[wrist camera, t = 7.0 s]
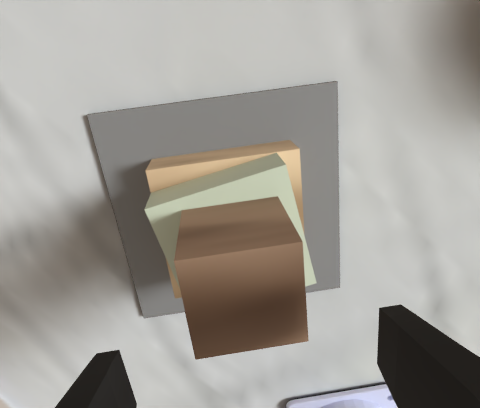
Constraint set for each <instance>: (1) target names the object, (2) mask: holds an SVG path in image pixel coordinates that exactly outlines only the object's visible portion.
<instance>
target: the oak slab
mask: <svg viewBox="0 0 480 408" xmlns="http://www.w3.org/2000/svg"><path fill="white" fill-rule="evenodd" d="M274 153H277V154H278V155H279V156H280V158H281V159H282V160H283V161H284V163H285V164H286V166H287V170H288V174H289V178H290V182H291V186H292V190H293V193H294V197H295V201H296V205H297V209H298V213H299V217H300V220H301V224H302V228H303V232H304V218H303V200H302V182H301V163H300V149H299V148H298V147H297V146H296V145H295V144H294V143H293V142H292V141H291V140H285V141H278V142H271V143H264V144H256V145H249V146H242V147H235V148H228V149H221V150H213V151H206V152H199V153H192V154H185V155H178V156H170V157H163V158H156V159H151V161H150V163H149V165H148V167H147V169H146V170H145V171H146V175H147V179H148V184H149V188H150V192H151V193H152V192H155V191H158V190H161V189H164V188H167V187H171V186H174V185H177V184H180V183H183V182H186V181H189V180H192V179H196V178H199V177H202V176H205V175H208V174H211V173H214V172H217V171H221V170H224V169H227V168H230V167H233V166H236V165H239V164H243V163H246V162H249V161H252V160H255V159H258V158H261V157H264V156H268V155H271V154H274ZM166 262H167V266H168V270H169V275H170V279H171V283H172V287H173V292H174V296H175V298H182V296H181V291H180V288H179V286H178V284H177V281H176V279H175V277H174V275H173V272H172V270H171V268H170V266H169V264H168V261H167V259H166Z"/></svg>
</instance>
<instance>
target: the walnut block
mask: <svg viewBox="0 0 480 408" xmlns="http://www.w3.org/2000/svg"><path fill="white" fill-rule="evenodd" d="M174 264H175V268H176V273H177V277H178V282H179V287H180V291H181V296H182V300H183V305H184V309H185V314H186V318H187V323H188V327H189V332H190V337H191V341H192V346H193V350H194V355H195V359H202V358H208V357H214V356H220V355H226V354H232V353H238V352H245V351H251V350H257V349H263V348H269V347H275V346H282V345H288V344H294V343H300V342H306V341H308V327H307V309H306V291H305V274H304V256H303V241H302V240H301V238H300V236H299V234H298V232H297V230H296V229H295V227H294V225H293V223H292V221H291V219H290V218H289V216H288V214H287V212H286V210H285V208H284V207H283V205H282V203H281V201H280V199H279V197H278V196H276V197H269V198H263V199H256V200H249V201H242V202H235V203H228V204H221V205H214V206H207V207H200V208H193V209H187V210H182V212H181V218H180V225H179V231H178V238H177V244H176V251H175V257H174Z"/></svg>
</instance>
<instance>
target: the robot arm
mask: <svg viewBox="0 0 480 408" xmlns="http://www.w3.org/2000/svg"><path fill="white" fill-rule="evenodd" d="M377 364H378V366H379V369H380V371H381V373H382V375H383V378H384V380H385V382H386V384H383V385H378V386H372V387H366V388H360V389H354V390H348V391H342V392H336V393H331V394H325V395H319V396H313V397H307V398H301V399H295V400H291V401H289V402H288V403H287V404H286V408H396V406H397V407H398V408H480V357H478V356H477V355H475V354H474V353H472V352H471V351H469V350H468V349H466V348H464V347H463V346H461V345H460V344H458V343H457V342H455V341H454V340H452V339H451V338H449V337H448V336H446V335H445V334H444V333H442V332H441V331H439V330H438V329H436V328H435V327H433V326H432V325H430V324H429V323H427V322H426V321H424V320H423V319H422V318H420V317H419V316H417V315H416V314H414V313H413V312H411V311H410V310H408V309H407V308H405V307H404V306H402V305H395V306H389V307H383V308H379V332H378V357H377ZM136 405H137V403H136V400H135V397H134V394H133V391H132V388H131V385H130V382H129V379H128V376H127V373H126V370H125V366H124V363H123V360H122V357H121V354H120V351H119V350H116V351H109V352H103V353H97V354H96V355H95V356H94V357H93V359H92V360H91V361H90V362H89V364H88V365H87V366H86V368H85V369H84V370H83V372H82V373H81V374H80V375H79V377H78V378H77V379H76V381H75V382H74V383H73V385H72V386H71V387H70V389H69V390H68V391H67V393H66V394H65V395H64V397H63V398H62V399H61V400H60V402H59V403H58V404H57V406H56V407H55V408H136Z"/></svg>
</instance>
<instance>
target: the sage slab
mask: <svg viewBox="0 0 480 408" xmlns="http://www.w3.org/2000/svg"><path fill="white" fill-rule="evenodd" d="M276 196H278V197H279V199H280V201H281V203H282V205H283V207H284V208H285V210H286V212H287V214H288V216H289V218H290V219H291V221H292V223H293V225H294V227H295V229H296V230H297V232H298V234H299V236H300V238H301V240H302V241H303V256H304V274H305V287H306V286H309V285H312V284H316V283H317V282H316V278H315V275H314V271H313V267H312V263H311V259H310V255H309V251H308V248H307V244H306V240H305V236H304V232H303V228H302V224H301V220H300V217H299V213H298V209H297V205H296V201H295V197H294V193H293V190H292V186H291V182H290V178H289V174H288V170H287V166H286V164H285V163H284V161H283V160H282V159H281V158H280V156H279V155H278V154H277V153H274V154H271V155H268V156H264V157H261V158H258V159H255V160H252V161H249V162H246V163H243V164H239V165H236V166H233V167H230V168H227V169H224V170H221V171H217V172H214V173H211V174H208V175H205V176H202V177H199V178H196V179H192V180H189V181H186V182H183V183H180V184H177V185H174V186H171V187H167V188H164V189H161V190H158V191H155V192H152V193H151V194H150V197H149V199H148V202H147V204H146V207H145V209H144V210H145V212H146V215H147V217H148V219H149V221H150V224H151V226H152V228H153V230H154V232H155V235H156V237H157V239H158V241H159V244H160V246H161V248H162V250H163V252H164V255H165V257H166V259H167V261H168V264H169V266H170V268H171V270H172V272H173V275H174V277H175V279H176V281H177V284H178V286H179V282H178V277H177V273H176V268H175V264H174V257H175V251H176V244H177V238H178V231H179V225H180V218H181V212H182V210H187V209H193V208H200V207H207V206H214V205H221V204H228V203H235V202H242V201H249V200H256V199H263V198H269V197H276ZM179 288H180V287H179Z"/></svg>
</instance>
